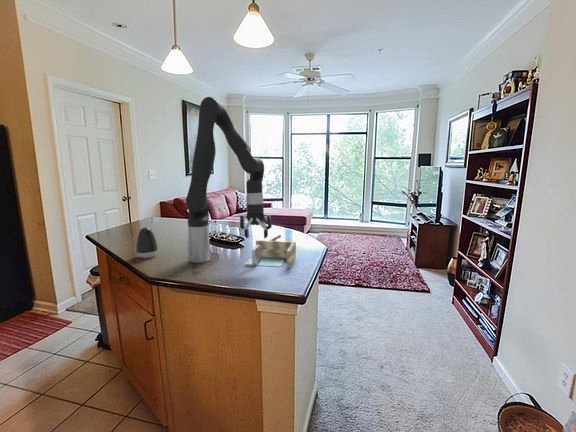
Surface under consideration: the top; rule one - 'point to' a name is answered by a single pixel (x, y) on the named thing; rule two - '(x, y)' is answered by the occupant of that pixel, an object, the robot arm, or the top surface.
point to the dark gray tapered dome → (146, 243)
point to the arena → (278, 250)
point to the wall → (275, 238)
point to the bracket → (254, 257)
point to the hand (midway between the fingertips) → (256, 237)
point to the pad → (271, 263)
